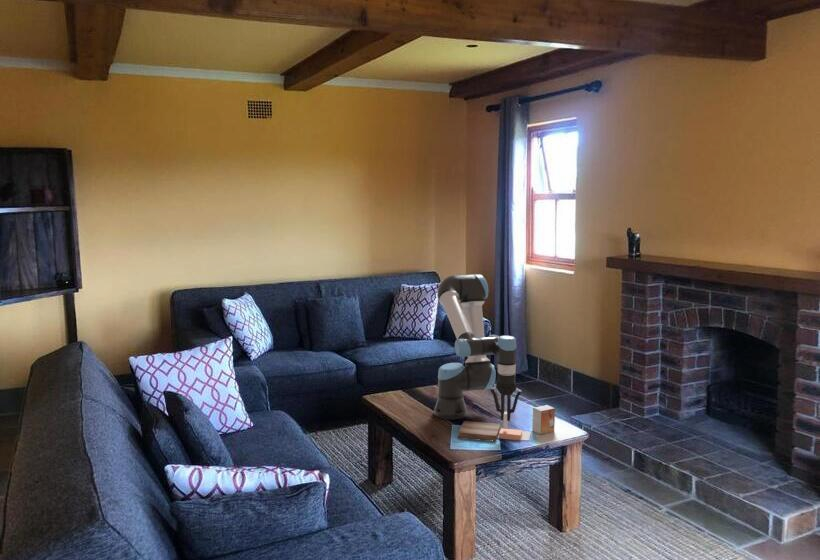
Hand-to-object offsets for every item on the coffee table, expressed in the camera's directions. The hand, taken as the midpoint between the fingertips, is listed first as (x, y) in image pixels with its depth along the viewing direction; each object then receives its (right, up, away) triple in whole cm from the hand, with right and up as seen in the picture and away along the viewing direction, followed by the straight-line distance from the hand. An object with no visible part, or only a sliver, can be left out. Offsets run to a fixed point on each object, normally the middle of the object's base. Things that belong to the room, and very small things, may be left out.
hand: (505, 427), depth 279 cm
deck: (-11, -3, +4) cm, 12 cm away
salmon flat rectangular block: (+2, -4, 0) cm, 4 cm away
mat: (+4, -4, +2) cm, 6 cm away
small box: (+17, -3, +6) cm, 19 cm away
